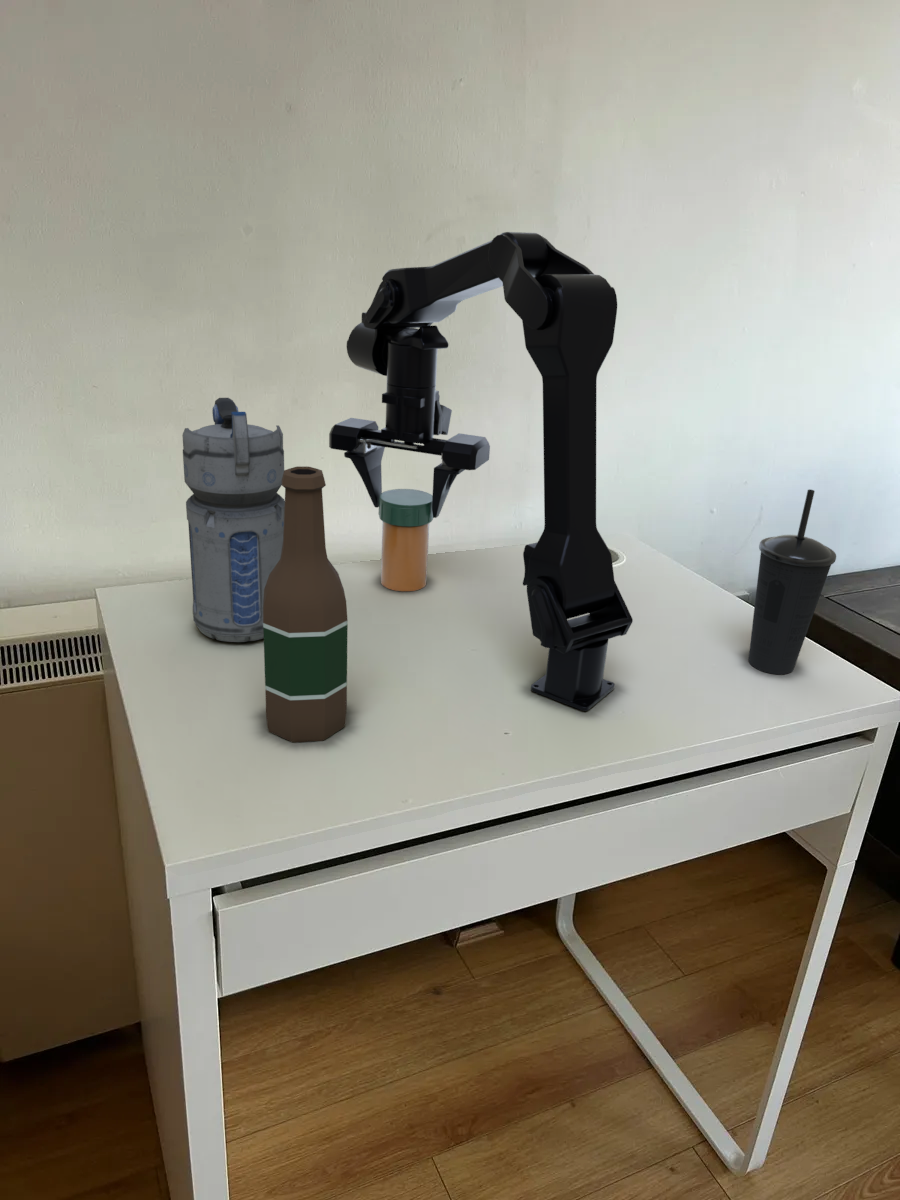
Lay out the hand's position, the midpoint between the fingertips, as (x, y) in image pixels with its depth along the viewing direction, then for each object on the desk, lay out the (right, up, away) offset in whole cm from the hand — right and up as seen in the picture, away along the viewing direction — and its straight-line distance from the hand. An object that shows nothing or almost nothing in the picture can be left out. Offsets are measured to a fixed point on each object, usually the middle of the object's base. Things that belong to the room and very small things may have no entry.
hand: (406, 511), depth 111 cm
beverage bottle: (-18, -14, -10) cm, 25 cm away
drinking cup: (+41, -18, -11) cm, 46 cm away
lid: (0, +1, -1) cm, 2 cm away
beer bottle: (-8, -22, -27) cm, 36 cm away
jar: (-1, -9, +4) cm, 10 cm away
